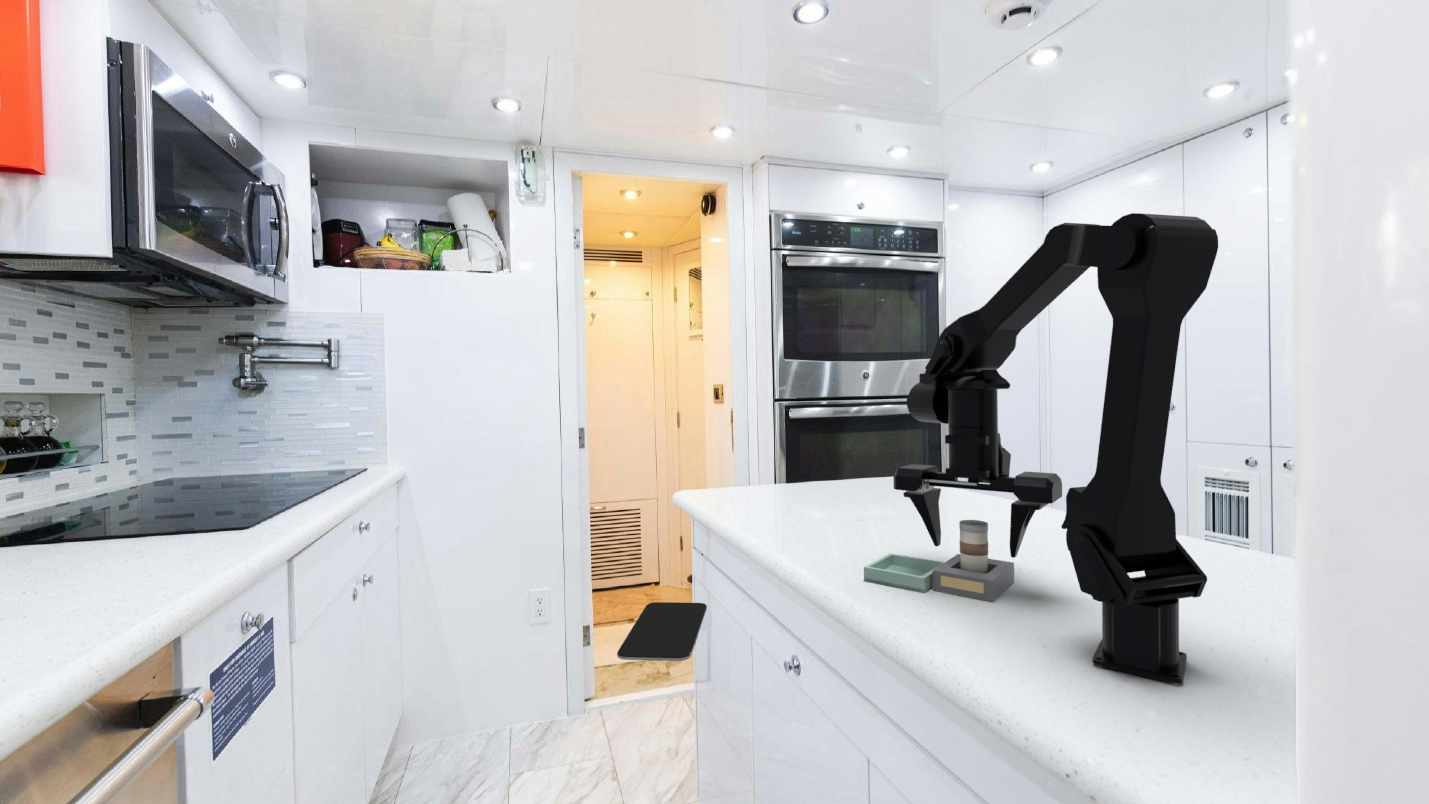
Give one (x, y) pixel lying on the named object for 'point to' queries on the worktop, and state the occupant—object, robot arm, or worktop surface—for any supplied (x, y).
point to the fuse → (974, 545)
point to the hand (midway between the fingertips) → (974, 551)
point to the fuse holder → (974, 579)
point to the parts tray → (902, 572)
